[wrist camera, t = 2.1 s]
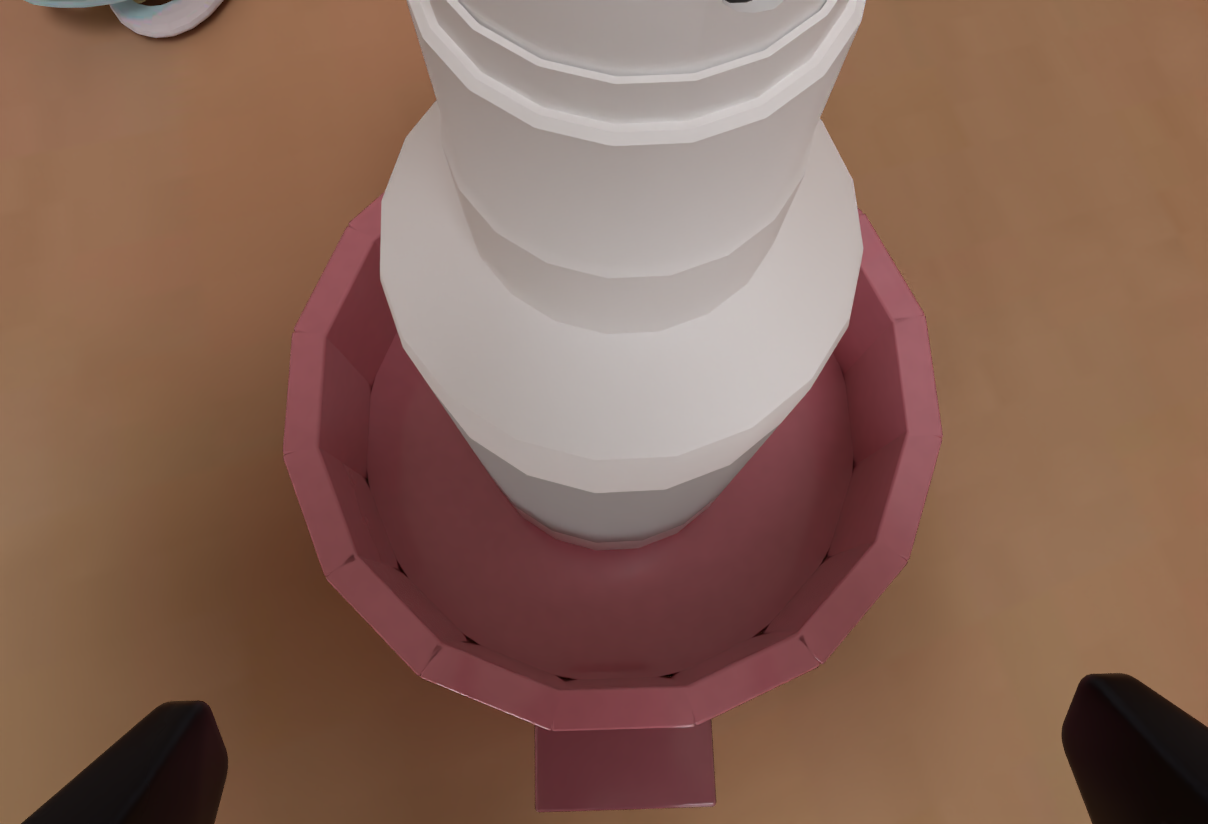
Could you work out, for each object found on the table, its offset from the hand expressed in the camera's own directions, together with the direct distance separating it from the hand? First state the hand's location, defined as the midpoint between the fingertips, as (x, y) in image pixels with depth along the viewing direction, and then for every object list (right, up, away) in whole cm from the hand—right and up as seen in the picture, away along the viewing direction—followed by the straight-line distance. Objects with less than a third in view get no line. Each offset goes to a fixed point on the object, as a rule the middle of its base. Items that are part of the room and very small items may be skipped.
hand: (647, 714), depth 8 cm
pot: (0, +3, +14) cm, 14 cm away
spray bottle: (0, +3, +14) cm, 14 cm away
